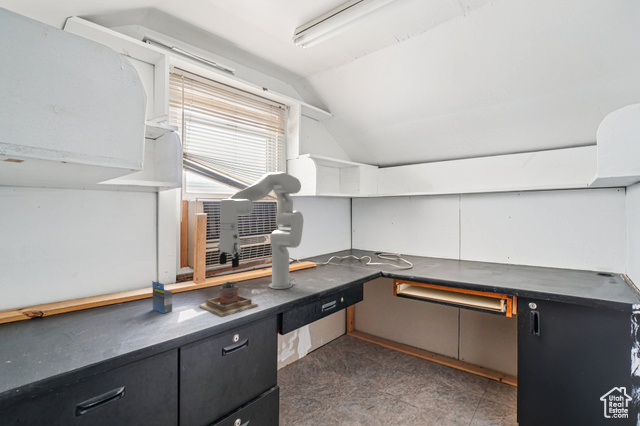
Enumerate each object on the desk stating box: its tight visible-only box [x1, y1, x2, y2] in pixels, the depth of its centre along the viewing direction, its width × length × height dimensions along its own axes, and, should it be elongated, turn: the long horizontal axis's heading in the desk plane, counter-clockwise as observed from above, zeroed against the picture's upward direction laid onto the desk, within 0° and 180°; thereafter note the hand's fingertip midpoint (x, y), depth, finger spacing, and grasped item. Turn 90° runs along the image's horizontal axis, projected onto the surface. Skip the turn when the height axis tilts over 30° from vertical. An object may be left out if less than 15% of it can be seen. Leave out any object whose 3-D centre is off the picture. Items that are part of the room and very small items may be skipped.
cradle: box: [199, 294, 259, 317], centre depth 136 cm, size 18×18×3 cm
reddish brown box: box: [219, 280, 239, 306], centre depth 136 cm, size 8×3×10 cm, turn 117°
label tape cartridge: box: [151, 281, 173, 314], centre depth 130 cm, size 9×4×12 cm, turn 58°
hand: (229, 265), depth 135 cm, fingers open, 9 cm apart
